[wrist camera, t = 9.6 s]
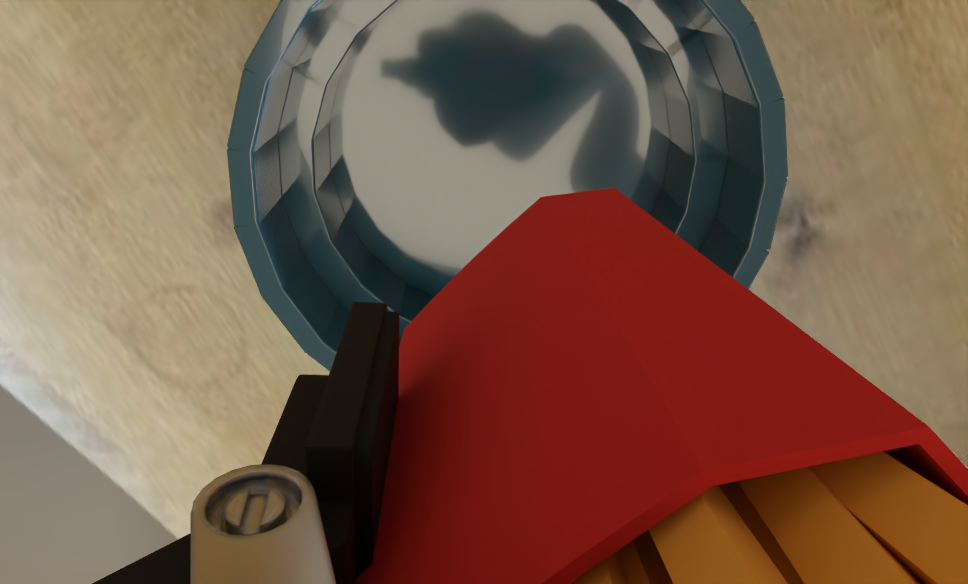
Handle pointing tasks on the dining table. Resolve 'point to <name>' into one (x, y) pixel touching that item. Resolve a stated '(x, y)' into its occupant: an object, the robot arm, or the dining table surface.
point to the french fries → (646, 428)
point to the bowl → (489, 139)
